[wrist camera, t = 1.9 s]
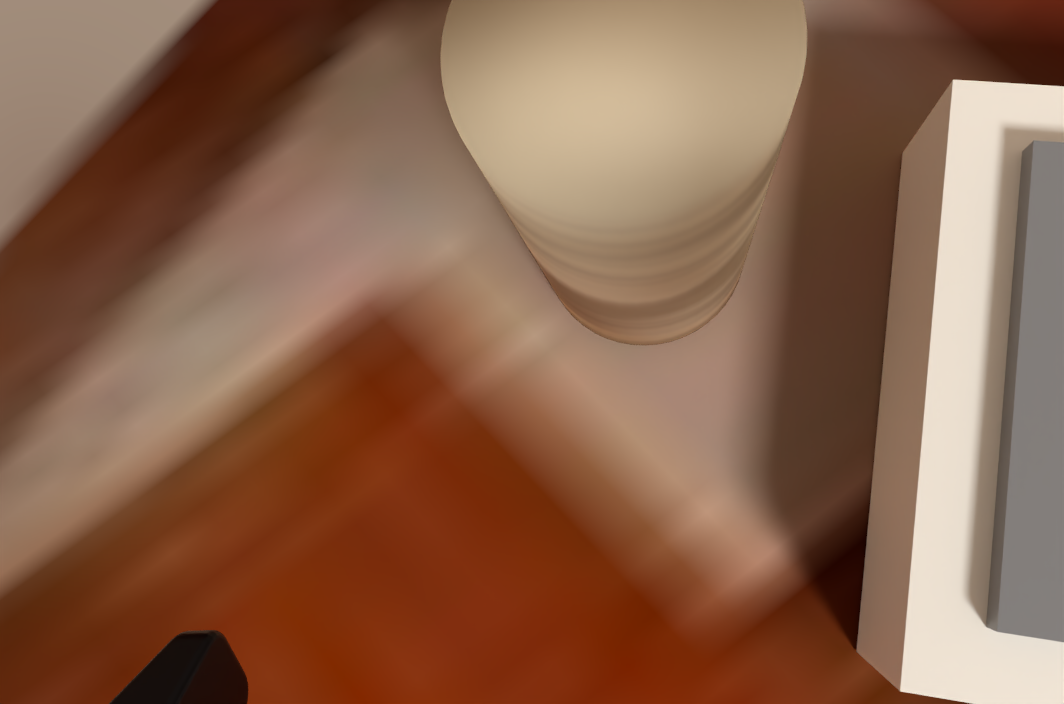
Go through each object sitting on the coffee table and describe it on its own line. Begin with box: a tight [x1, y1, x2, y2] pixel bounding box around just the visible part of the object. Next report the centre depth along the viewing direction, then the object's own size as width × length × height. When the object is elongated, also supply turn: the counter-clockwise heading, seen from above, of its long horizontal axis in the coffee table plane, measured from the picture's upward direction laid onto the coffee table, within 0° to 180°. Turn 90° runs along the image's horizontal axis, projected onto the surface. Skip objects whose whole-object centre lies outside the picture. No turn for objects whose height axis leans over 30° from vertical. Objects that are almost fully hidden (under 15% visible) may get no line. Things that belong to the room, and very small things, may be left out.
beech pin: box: [440, 0, 807, 345], centre depth 18 cm, size 5×5×11 cm
